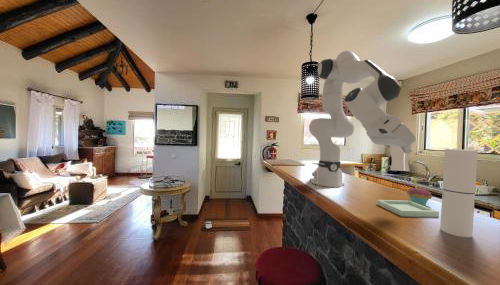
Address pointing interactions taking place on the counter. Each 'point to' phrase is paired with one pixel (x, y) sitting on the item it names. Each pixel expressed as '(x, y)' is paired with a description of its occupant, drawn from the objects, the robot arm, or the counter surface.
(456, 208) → the cylindrical container
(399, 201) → the tray
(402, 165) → the white upright block
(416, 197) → the cupcake
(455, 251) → the counter surface
